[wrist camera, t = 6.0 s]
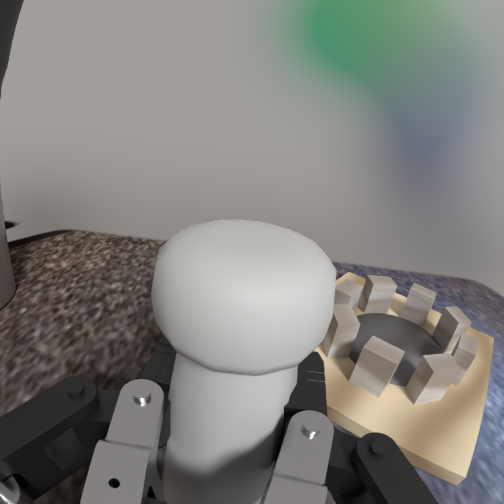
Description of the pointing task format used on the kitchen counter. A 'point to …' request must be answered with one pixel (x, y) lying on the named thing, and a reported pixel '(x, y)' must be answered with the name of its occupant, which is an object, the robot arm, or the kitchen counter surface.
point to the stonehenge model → (406, 372)
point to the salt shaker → (235, 349)
